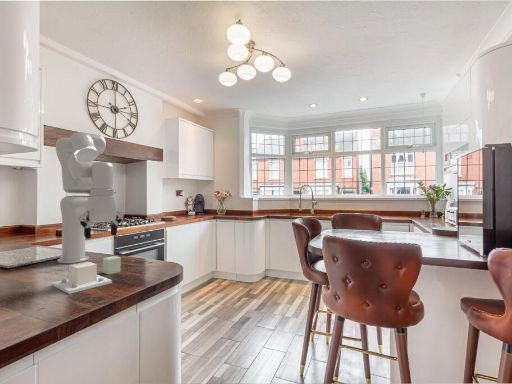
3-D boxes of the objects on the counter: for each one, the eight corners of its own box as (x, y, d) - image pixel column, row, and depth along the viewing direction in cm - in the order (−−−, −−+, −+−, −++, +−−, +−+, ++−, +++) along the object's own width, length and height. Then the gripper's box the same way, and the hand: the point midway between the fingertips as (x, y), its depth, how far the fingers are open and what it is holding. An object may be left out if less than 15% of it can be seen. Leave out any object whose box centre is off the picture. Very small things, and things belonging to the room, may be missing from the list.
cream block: (68, 281, 99) (69, 265, 99) (88, 277, 104) (88, 261, 104) (76, 285, 95) (77, 268, 95) (96, 280, 100) (96, 264, 100)
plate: (52, 285, 98) (52, 280, 98) (93, 275, 109) (93, 271, 109) (69, 294, 90) (69, 288, 90) (112, 282, 101) (112, 278, 101)
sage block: (102, 272, 114) (102, 258, 114) (114, 269, 118) (114, 255, 118) (108, 274, 111) (108, 259, 111) (120, 271, 115) (120, 257, 115)
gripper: (119, 193, 118) (118, 233, 118) (73, 193, 104) (72, 238, 104) (128, 193, 113) (127, 235, 113) (81, 193, 100) (80, 240, 100)
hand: (101, 236), depth 109 cm, fingers open, 9 cm apart
